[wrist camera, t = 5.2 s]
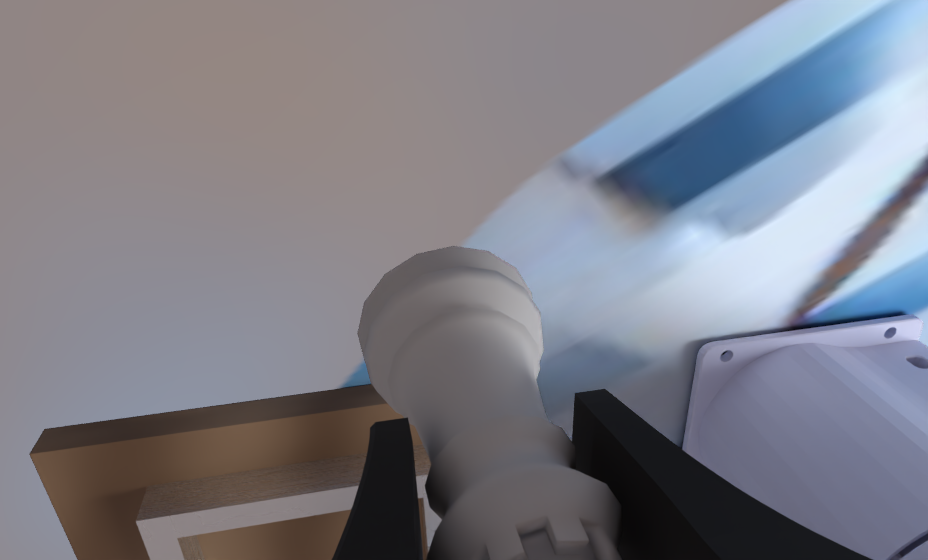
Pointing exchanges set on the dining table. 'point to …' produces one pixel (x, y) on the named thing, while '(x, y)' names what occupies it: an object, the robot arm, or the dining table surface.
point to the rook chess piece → (482, 411)
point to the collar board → (220, 479)
